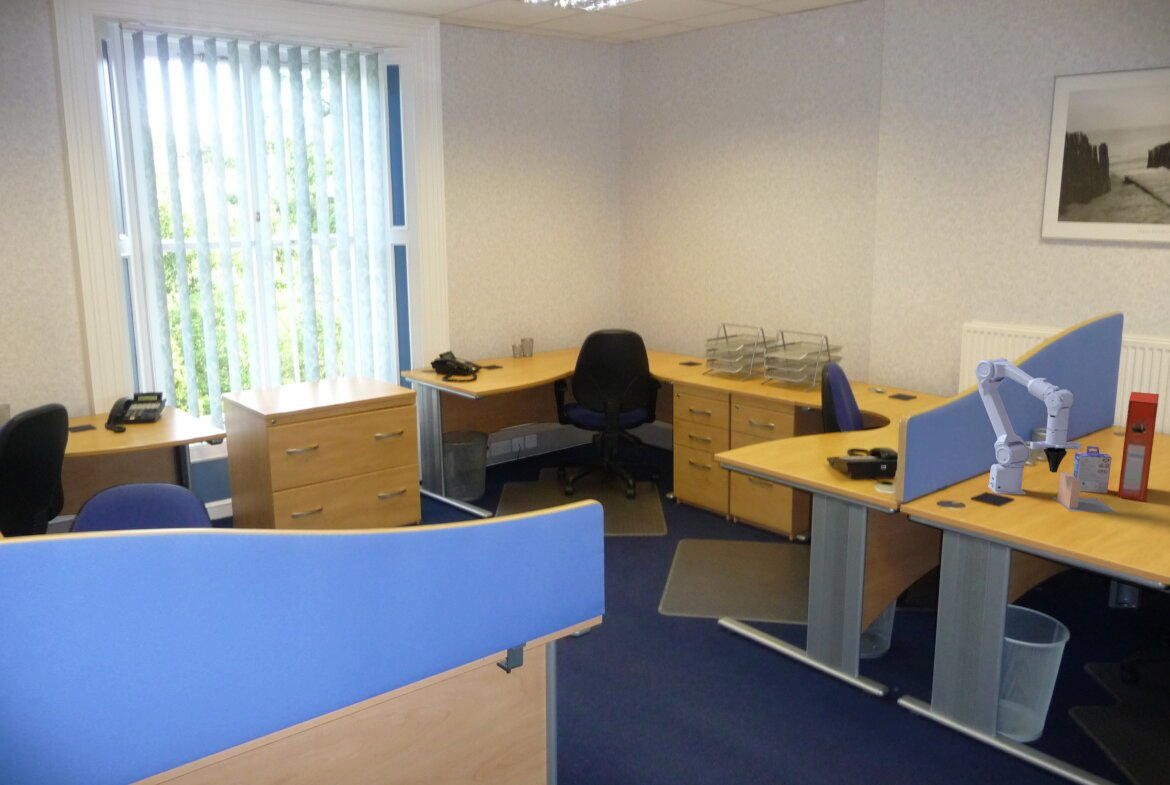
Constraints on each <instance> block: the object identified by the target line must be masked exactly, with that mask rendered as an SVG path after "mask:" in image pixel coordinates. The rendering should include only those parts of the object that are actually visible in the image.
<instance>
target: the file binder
mask: <svg viewBox="0 0 1170 785" xmlns="http://www.w3.org/2000/svg"><path fill="white" fill-rule="evenodd" d="M1159 395H1160V394H1159V393H1149V392H1138V391H1131V392H1130V396H1129V399H1128V408H1127V413H1126V414H1127V415H1126V416H1127V417H1126V423H1125V424H1126V425H1125V431H1124V441H1123V447H1122V448H1123V449H1122V455H1121V456H1122V457H1121V465H1120V466H1121V467H1120V474H1119V485H1118V489H1117V490H1118V493H1117V498H1120V499H1121V498H1122V500H1127V499H1129V500H1128V501H1134V502H1135V501H1136V502H1142V503H1144V502H1147V492H1148V486H1149V480H1150V479H1149V478H1150V470H1151V461H1152V455H1153V454H1152V453H1153V448H1154V447H1153V446H1154V438H1155V437H1154V436H1155V429H1156V421H1157V414H1158V407H1159V406H1158V405H1159V398H1160V396H1159Z"/></svg>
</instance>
